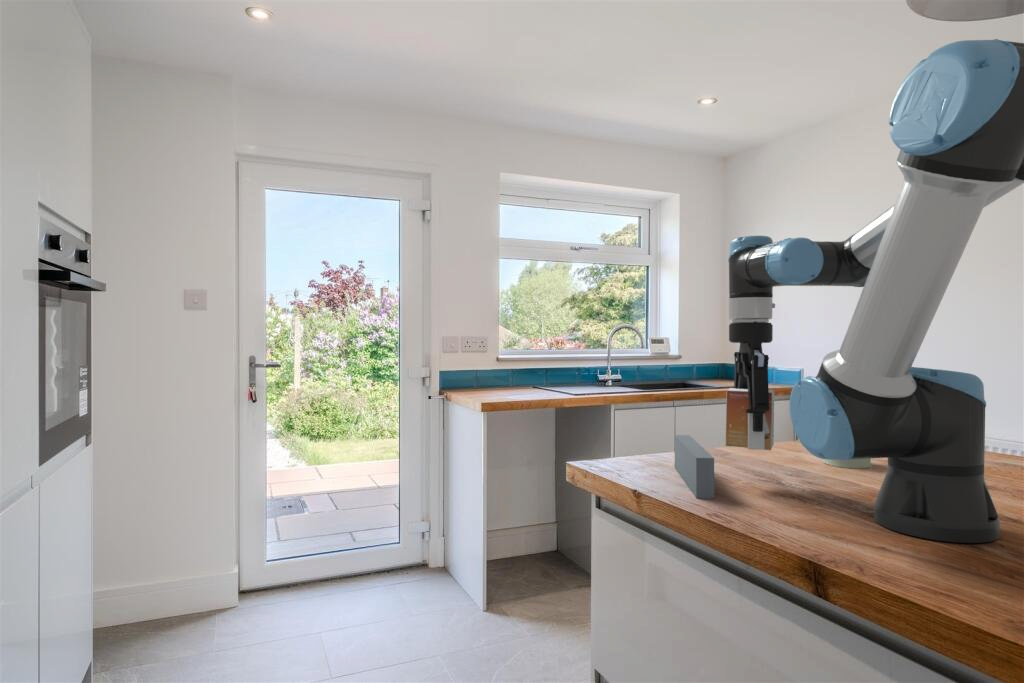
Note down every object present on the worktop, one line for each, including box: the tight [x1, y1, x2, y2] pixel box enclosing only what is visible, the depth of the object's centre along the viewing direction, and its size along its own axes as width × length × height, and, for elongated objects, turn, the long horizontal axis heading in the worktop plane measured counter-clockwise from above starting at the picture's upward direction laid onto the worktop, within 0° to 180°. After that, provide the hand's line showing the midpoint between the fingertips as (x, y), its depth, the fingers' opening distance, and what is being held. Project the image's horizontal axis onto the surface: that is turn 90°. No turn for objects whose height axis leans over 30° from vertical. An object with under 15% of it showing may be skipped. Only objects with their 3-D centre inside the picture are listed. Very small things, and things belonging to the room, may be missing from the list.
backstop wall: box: [674, 434, 715, 499], centre depth 118 cm, size 24×3×7 cm, turn 174°
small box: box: [725, 387, 775, 451], centre depth 114 cm, size 8×6×10 cm
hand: (750, 444), depth 114 cm, fingers closed on small box, 7 cm apart
